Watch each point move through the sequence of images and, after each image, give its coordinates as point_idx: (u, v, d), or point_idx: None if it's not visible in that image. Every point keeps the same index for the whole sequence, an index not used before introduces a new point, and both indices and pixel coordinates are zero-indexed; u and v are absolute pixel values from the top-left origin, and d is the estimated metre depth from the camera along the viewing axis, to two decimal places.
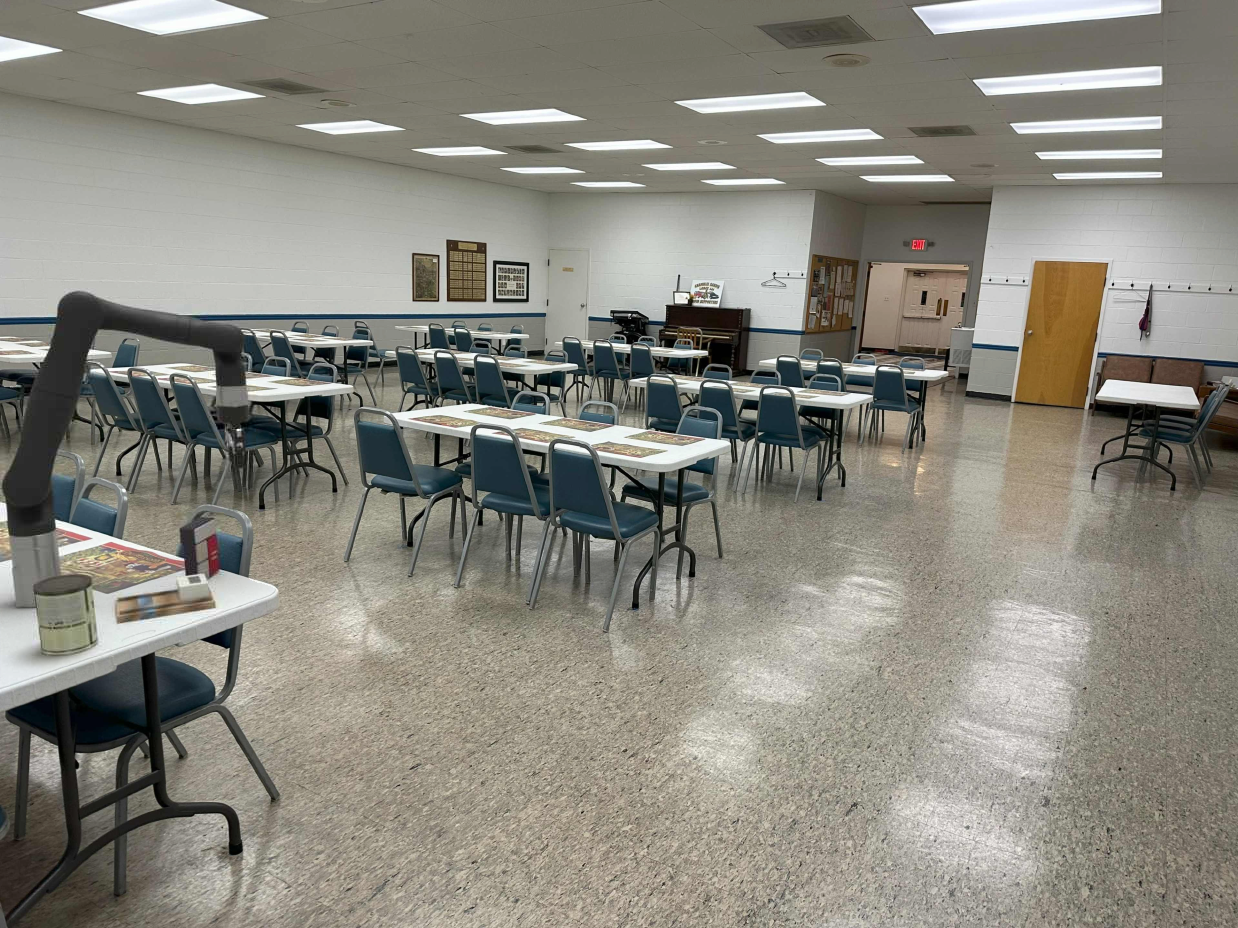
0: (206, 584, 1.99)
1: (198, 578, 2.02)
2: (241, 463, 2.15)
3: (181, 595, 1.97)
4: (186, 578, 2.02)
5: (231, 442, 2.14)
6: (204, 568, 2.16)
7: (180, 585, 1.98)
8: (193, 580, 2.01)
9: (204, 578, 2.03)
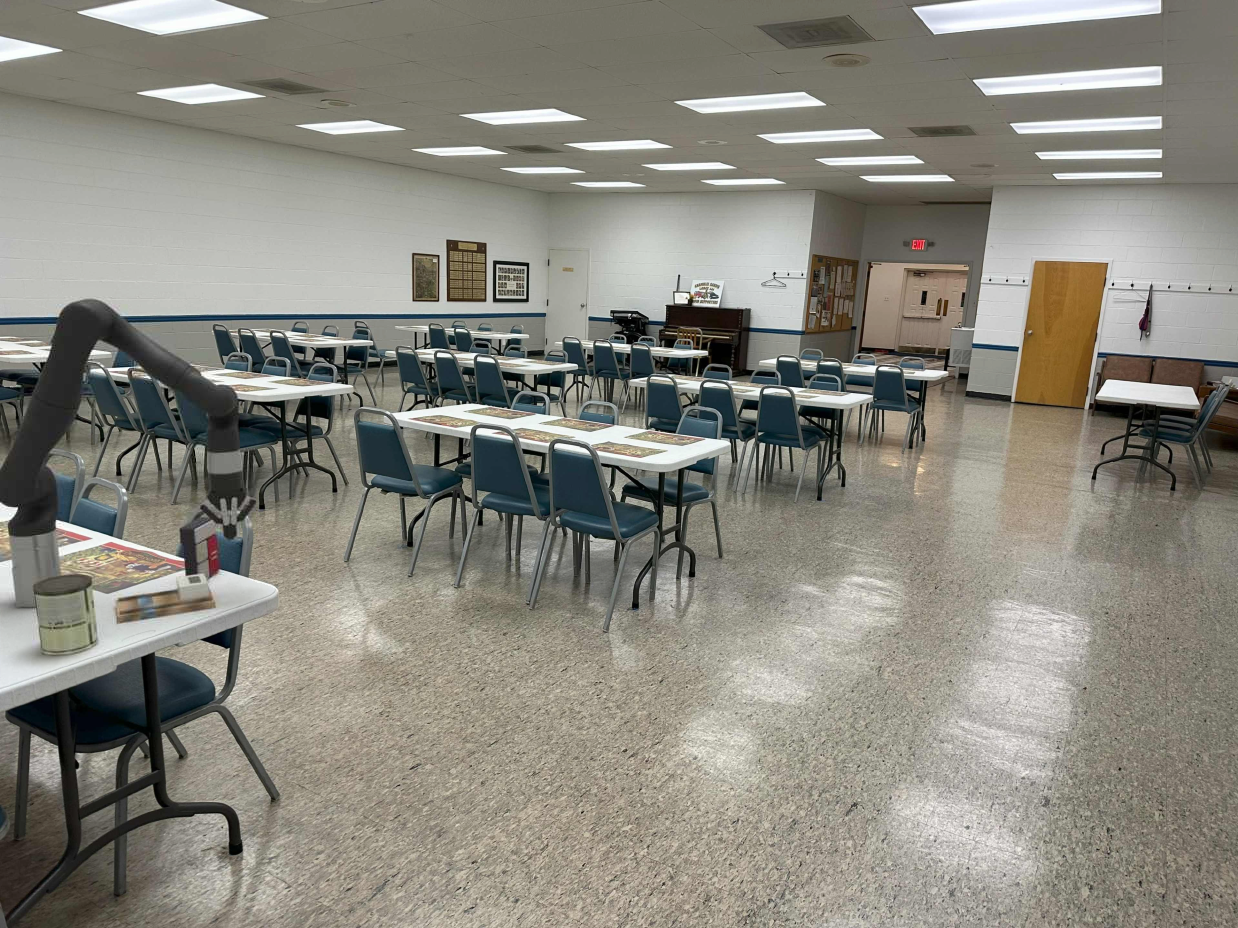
0: (206, 584, 1.99)
1: (198, 578, 2.02)
2: None
3: (181, 595, 1.97)
4: (186, 578, 2.02)
5: (236, 512, 2.02)
6: (204, 568, 2.16)
7: (180, 585, 1.98)
8: (193, 580, 2.01)
9: (204, 578, 2.03)
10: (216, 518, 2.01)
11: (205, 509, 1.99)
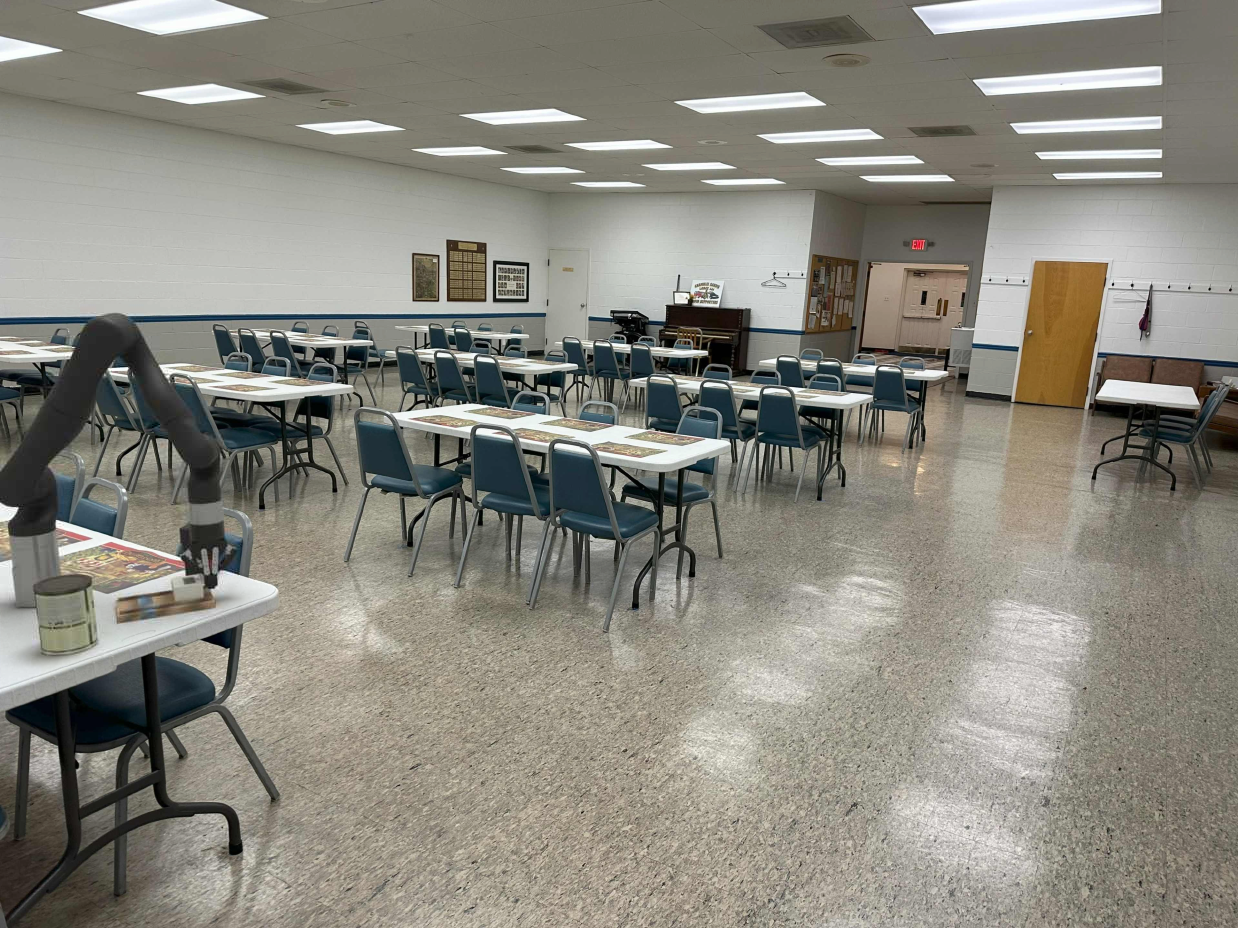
0: (201, 585, 1.99)
1: (192, 579, 2.02)
2: None
3: (176, 596, 1.96)
4: (180, 579, 2.02)
5: (217, 562, 2.02)
6: None
7: (175, 586, 1.97)
8: (187, 581, 2.00)
9: (199, 579, 2.02)
10: (197, 568, 2.01)
11: (186, 559, 1.99)
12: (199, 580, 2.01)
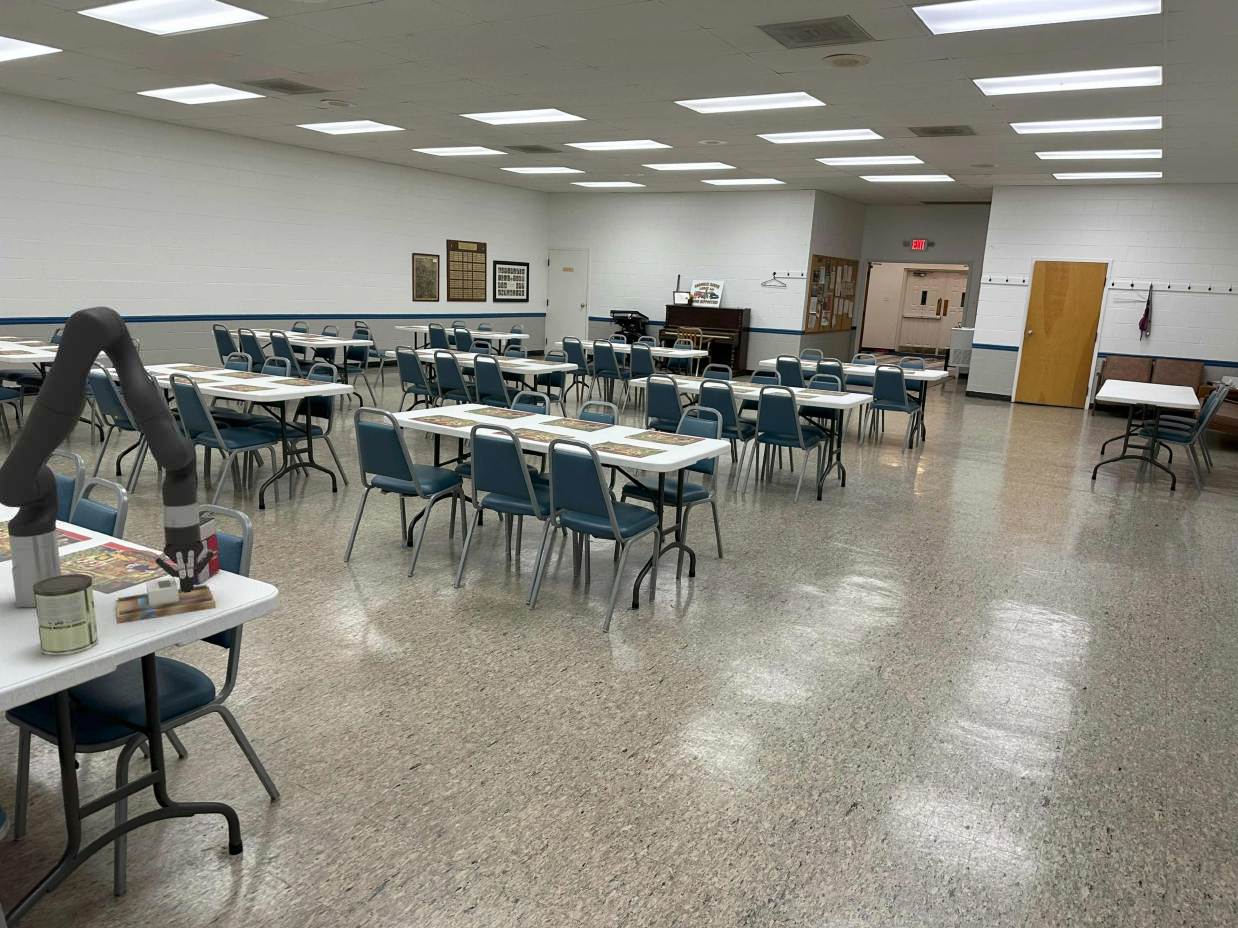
0: (176, 588, 1.96)
1: (168, 582, 1.99)
2: None
3: (150, 600, 1.94)
4: (155, 582, 1.99)
5: None
6: (204, 568, 2.16)
7: (149, 590, 1.94)
8: (163, 585, 1.97)
9: (174, 582, 1.99)
10: (172, 571, 1.98)
11: (161, 563, 1.96)
12: (174, 584, 1.99)
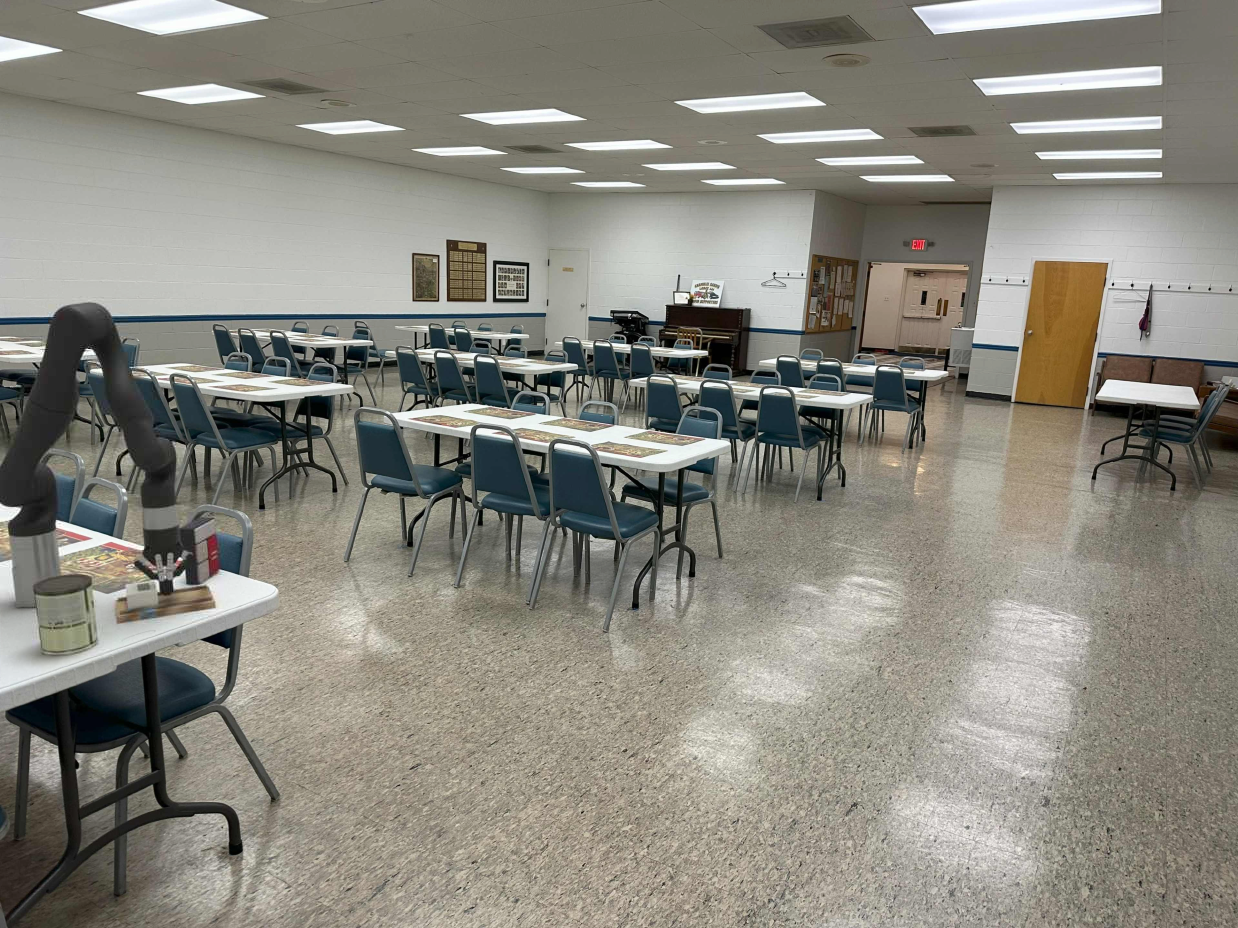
0: (155, 592, 1.94)
1: (147, 585, 1.97)
2: None
3: (128, 603, 1.91)
4: (135, 585, 1.97)
5: (172, 567, 1.97)
6: (204, 568, 2.16)
7: (128, 593, 1.92)
8: (142, 588, 1.95)
9: (154, 585, 1.97)
10: (151, 574, 1.95)
11: (139, 565, 1.94)
12: (154, 587, 1.96)
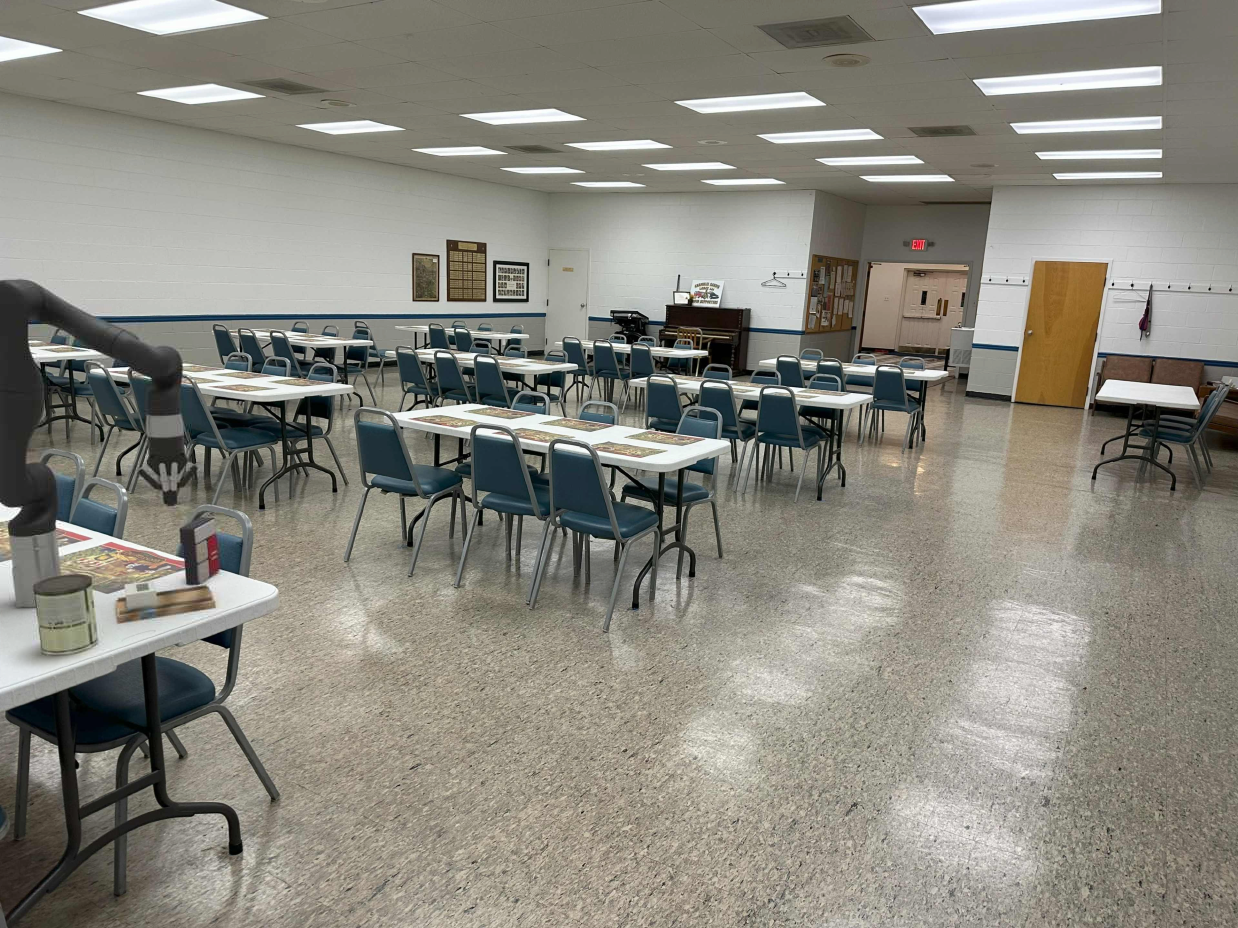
0: (154, 592, 1.94)
1: (146, 586, 1.97)
2: None
3: (127, 603, 1.91)
4: (134, 585, 1.97)
5: (176, 478, 1.97)
6: (204, 568, 2.16)
7: (127, 593, 1.92)
8: (141, 588, 1.95)
9: (153, 585, 1.97)
10: (155, 483, 1.95)
11: (143, 474, 1.93)
12: (153, 587, 1.96)
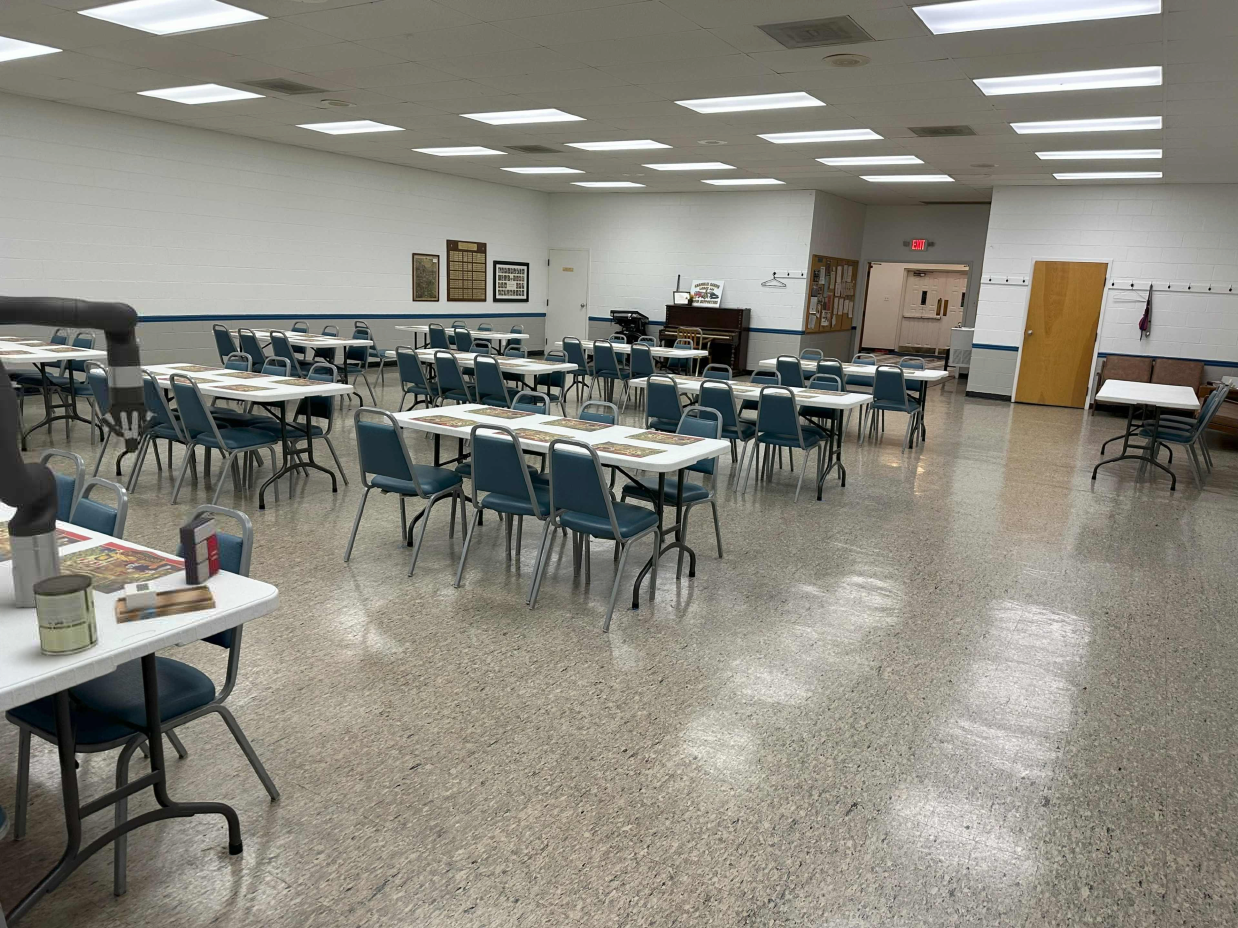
0: (154, 592, 1.94)
1: (146, 586, 1.97)
2: (137, 446, 2.13)
3: (127, 603, 1.91)
4: (134, 585, 1.97)
5: (137, 426, 2.11)
6: (204, 568, 2.16)
7: (127, 593, 1.92)
8: (141, 588, 1.95)
9: (153, 585, 1.97)
10: (117, 431, 2.09)
11: (106, 422, 2.07)
12: (153, 587, 1.96)
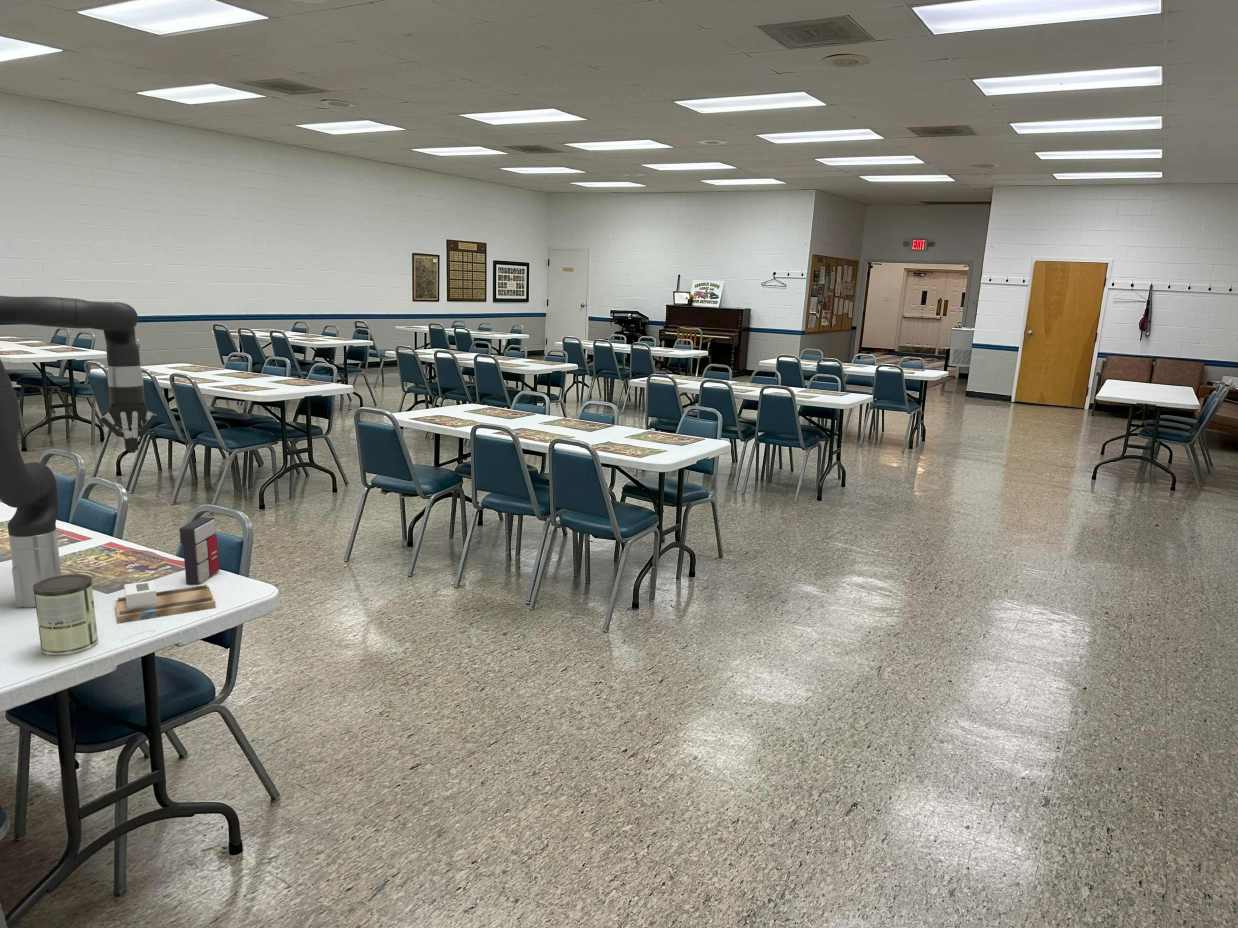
0: (154, 592, 1.94)
1: (146, 586, 1.97)
2: (137, 446, 2.13)
3: (127, 603, 1.91)
4: (134, 585, 1.97)
5: None
6: (204, 568, 2.16)
7: (127, 593, 1.92)
8: (141, 588, 1.95)
9: (153, 585, 1.97)
10: (117, 431, 2.09)
11: (105, 421, 2.07)
12: (153, 587, 1.96)
